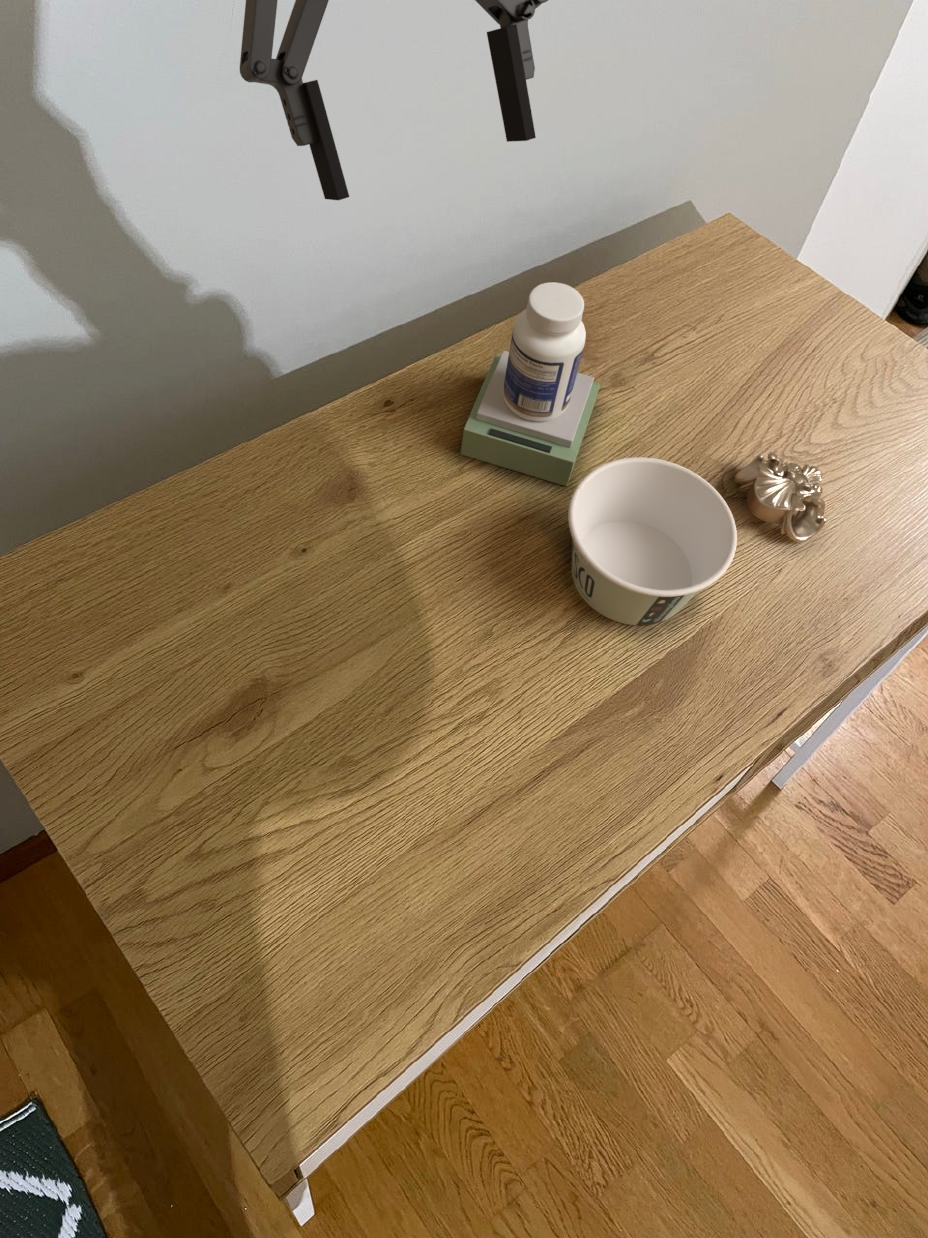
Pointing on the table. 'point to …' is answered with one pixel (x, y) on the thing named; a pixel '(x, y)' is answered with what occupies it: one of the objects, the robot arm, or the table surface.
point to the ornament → (784, 495)
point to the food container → (647, 538)
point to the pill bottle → (545, 353)
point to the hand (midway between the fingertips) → (431, 168)
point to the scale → (527, 429)
